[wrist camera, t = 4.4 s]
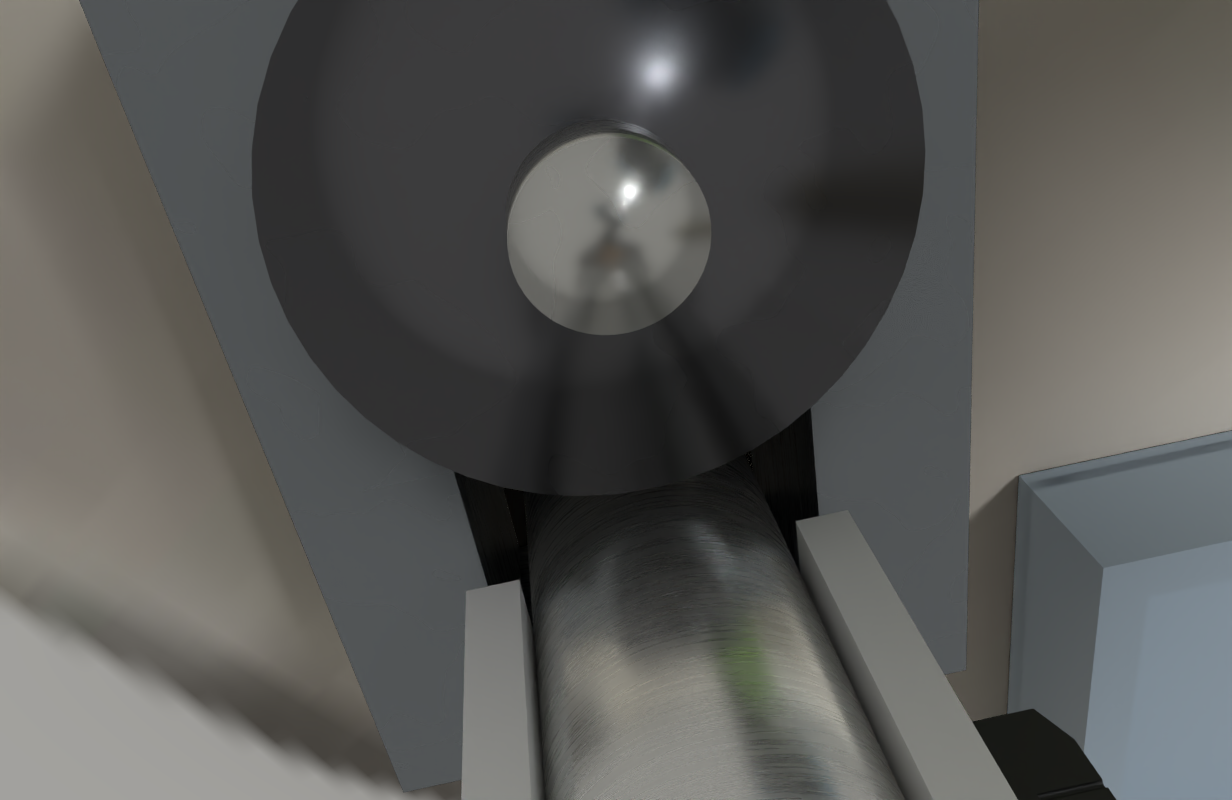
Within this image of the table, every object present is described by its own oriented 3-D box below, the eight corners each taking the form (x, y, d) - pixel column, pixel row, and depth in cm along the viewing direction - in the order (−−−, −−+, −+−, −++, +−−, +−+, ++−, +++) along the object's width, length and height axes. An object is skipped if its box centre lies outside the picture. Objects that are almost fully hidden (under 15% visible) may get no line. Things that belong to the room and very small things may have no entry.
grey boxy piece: (170, -119, 14) (-125, -125, 7) (831, -244, 14) (1148, -363, 8) (419, 602, 21) (389, 950, 14) (865, 508, 21) (1049, 804, 14)
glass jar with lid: (480, 340, 18) (474, 1528, 5) (717, 292, 18) (1319, 1327, 5) (530, 533, 20) (618, 1707, 7) (741, 489, 20) (1204, 1560, 7)
